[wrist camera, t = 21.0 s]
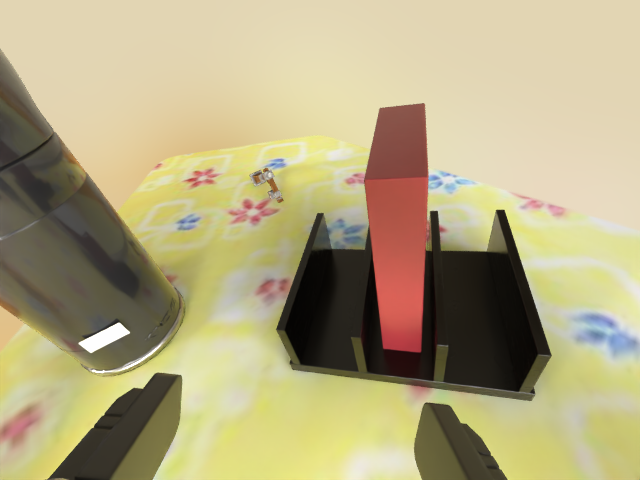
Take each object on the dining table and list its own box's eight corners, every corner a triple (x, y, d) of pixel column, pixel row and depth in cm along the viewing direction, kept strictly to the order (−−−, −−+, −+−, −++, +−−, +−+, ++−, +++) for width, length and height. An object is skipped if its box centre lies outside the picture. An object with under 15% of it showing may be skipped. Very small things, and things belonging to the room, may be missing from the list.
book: (382, 349, 23) (363, 179, 13) (389, 265, 28) (379, 107, 19) (421, 353, 22) (428, 176, 13) (420, 266, 27) (424, 102, 18)
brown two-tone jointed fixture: (276, 205, 39) (260, 170, 38) (262, 202, 46) (248, 173, 45) (289, 199, 39) (274, 164, 38) (273, 197, 47) (260, 168, 45)
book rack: (292, 369, 24) (271, 329, 20) (324, 255, 32) (314, 212, 29) (531, 401, 19) (559, 356, 16) (496, 259, 28) (509, 209, 24)
